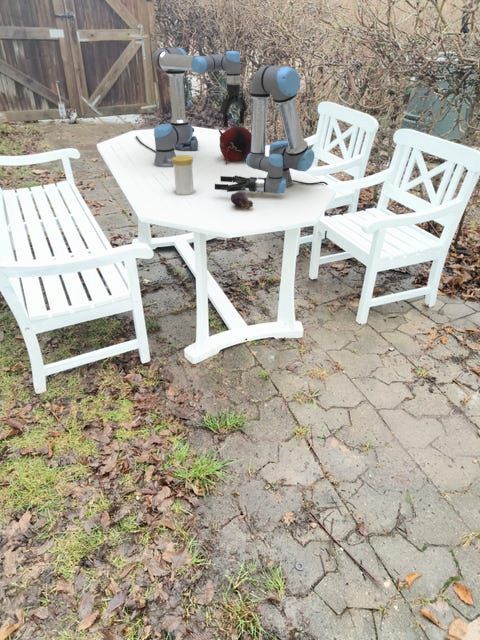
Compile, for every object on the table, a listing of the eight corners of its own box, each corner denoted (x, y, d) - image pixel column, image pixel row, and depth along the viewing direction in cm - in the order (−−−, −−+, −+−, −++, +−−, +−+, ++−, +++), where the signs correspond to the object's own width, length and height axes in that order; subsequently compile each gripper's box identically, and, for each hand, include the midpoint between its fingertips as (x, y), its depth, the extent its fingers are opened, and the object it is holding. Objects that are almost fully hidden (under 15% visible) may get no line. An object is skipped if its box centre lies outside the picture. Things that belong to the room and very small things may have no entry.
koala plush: (198, 150, 320) (196, 121, 309) (173, 151, 319) (170, 122, 308) (198, 145, 335) (196, 116, 324) (174, 145, 334) (171, 117, 322)
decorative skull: (216, 132, 305) (216, 129, 282) (250, 124, 304) (252, 121, 281) (223, 164, 312) (223, 164, 288) (256, 157, 311) (259, 156, 288)
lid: (196, 163, 238) (195, 158, 237) (177, 166, 233) (177, 162, 232) (187, 158, 246) (186, 154, 244) (169, 161, 241) (168, 157, 240)
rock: (244, 204, 234) (227, 207, 230) (243, 188, 230) (225, 190, 226) (255, 208, 224) (237, 211, 220) (254, 190, 221) (236, 193, 216)
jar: (196, 192, 247) (194, 159, 237) (180, 195, 243) (177, 162, 233) (188, 187, 254) (186, 155, 244) (172, 190, 250) (169, 158, 240)
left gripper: (222, 86, 238) (223, 129, 250) (253, 82, 253) (253, 122, 265) (212, 85, 242) (214, 127, 254) (243, 81, 257) (243, 120, 269)
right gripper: (252, 199, 230) (212, 197, 234) (260, 184, 250) (223, 182, 254) (252, 185, 226) (211, 182, 229) (260, 170, 246) (222, 169, 250)
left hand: (233, 125), depth 259 cm, fingers open, 13 cm apart
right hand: (217, 182), depth 242 cm, fingers open, 13 cm apart
